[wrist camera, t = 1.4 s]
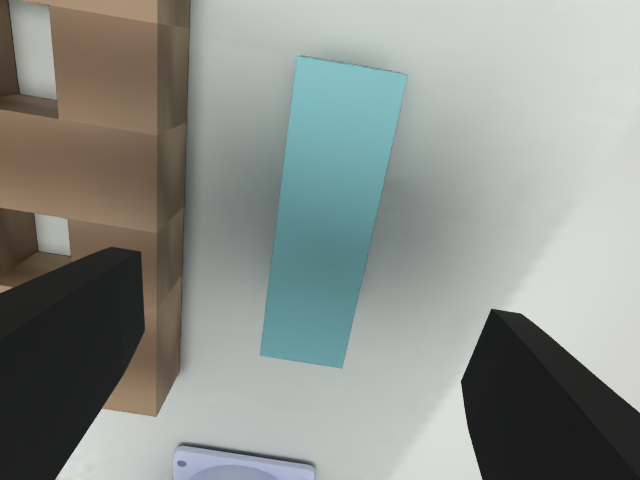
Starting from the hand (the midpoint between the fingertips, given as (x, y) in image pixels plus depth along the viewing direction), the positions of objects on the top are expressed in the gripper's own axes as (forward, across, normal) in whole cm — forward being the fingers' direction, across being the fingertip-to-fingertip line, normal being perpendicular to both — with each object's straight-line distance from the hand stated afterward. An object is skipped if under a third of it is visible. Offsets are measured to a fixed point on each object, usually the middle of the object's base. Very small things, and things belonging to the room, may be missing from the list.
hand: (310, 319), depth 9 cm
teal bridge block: (+10, 0, +1) cm, 10 cm away
